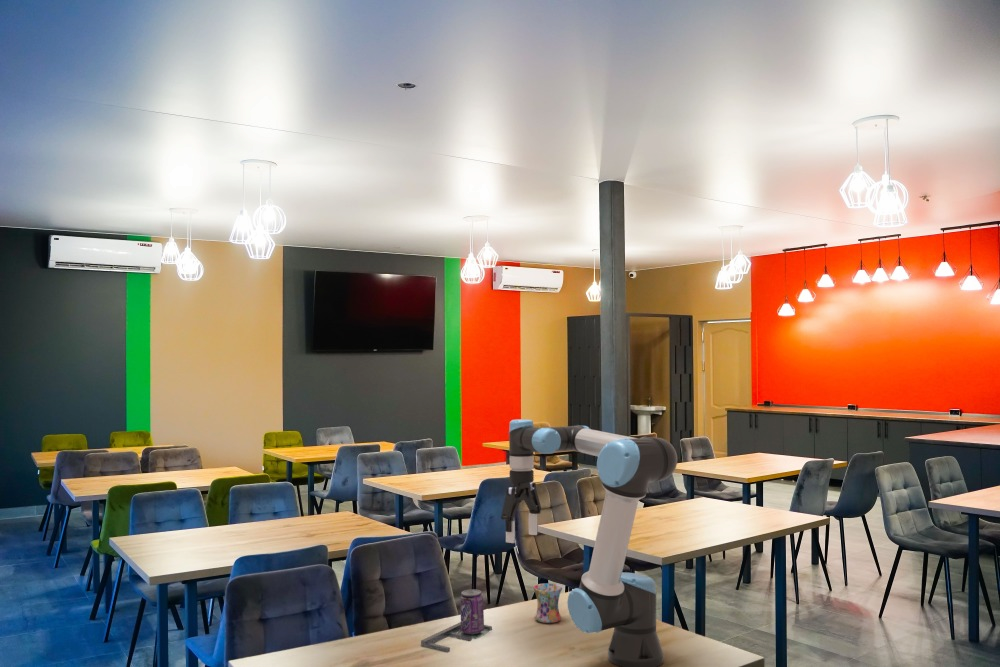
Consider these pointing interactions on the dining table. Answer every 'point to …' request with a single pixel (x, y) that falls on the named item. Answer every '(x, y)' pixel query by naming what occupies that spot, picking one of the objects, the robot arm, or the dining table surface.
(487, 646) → the dining table surface
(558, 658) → the dining table surface
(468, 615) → the beverage can
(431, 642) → the grey flat frame
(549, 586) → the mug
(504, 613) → the dining table surface
